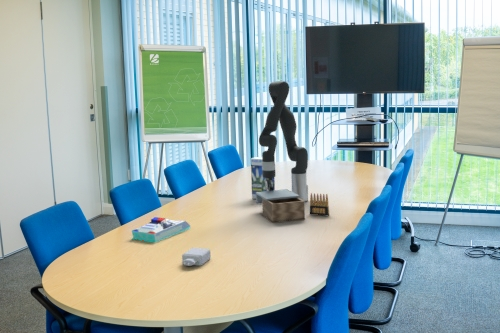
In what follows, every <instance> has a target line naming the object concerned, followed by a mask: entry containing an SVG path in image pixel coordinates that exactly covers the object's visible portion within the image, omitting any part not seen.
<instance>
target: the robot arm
mask: <svg viewBox="0 0 500 333" xmlns="http://www.w3.org/2000/svg"><path fill="white" fill-rule="evenodd" d="M268 92H269V96H270V98H271V101H272V103H273V106H272V108H270V111H269V112H268V113H267V117H266V121H265V125H264V127H263V129H262V131H261V133H260V135H259V137H258V144H259V146H260V147H263V148H264V147H267V148H268V149H267V150H264V151H263V152H262V153H261V157H262V161H263V162H262V175H263V178H265V181H264V184H265V188H266V190H267V191H273V190H274V186H275V185H274V184H273V179H272V178H273V177H274V178H275V177H276V164H275V163H276V162H275V161H276V160H275V153H276V149H277V144H278V138H277V137H276V135H273V134H271V133H274V132H277V130H278V126H279V125H280V129H281V131H282V134H283V138H284V142H285V147H286V152H287V156H288V158H289V160H290V161H292V162H295V166H293V167H292V168H291V169H290V172H291V174H290V176H291V177H290V178H291V191H292V192H294V193H296V194H297V195H299V197H298V198H300V199H302V200H303V201H304V202H307V201H309V186H308V183H307V169H308V166H309V165H308V164H309V163H308V161H309V160H308V159H309V155H308V150H307V148H305V147H302V146H298V145H297V141H296V133H297V127H298V126H297V122H296V118H295V115H294V114H293V112H292V111H291V109H289V107H288V106H287V105H286V104H285V103H286V101H287V98H288V96H289V93H290V85H289V83H288V82H287V81H285V80H281V81H271V82H270V83H269V86H268Z"/></svg>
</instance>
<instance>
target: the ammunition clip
mask: <svg viewBox="0 0 500 333" xmlns="http://www.w3.org/2000/svg"><path fill="white" fill-rule="evenodd" d="M309 199H310V200H309V215H310V214H318V215H317V216H323V215H328V216H329V215H330V208H329V196H328V193H326V195H325V193H323V195H322V193H320V194H319V193H314V194H313V192H311V193H310V198H309Z"/></svg>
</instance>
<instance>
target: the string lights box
mask: <svg viewBox="0 0 500 333" xmlns="http://www.w3.org/2000/svg"><path fill="white" fill-rule="evenodd" d="M262 162H263V161H262V156H258V157H257V156H255V157H251V158H250V171H251V199H252V200H253V199H254V200H256V192H262V191H267V190H266V188H265V184H264V181H265V178H263V175H262ZM272 179H273V184H274V185H275V184H276V183H275V182H276V181H275V180H276V179H275V177H273V178H272ZM275 189H276V188H275V186H274V190H275Z"/></svg>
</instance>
